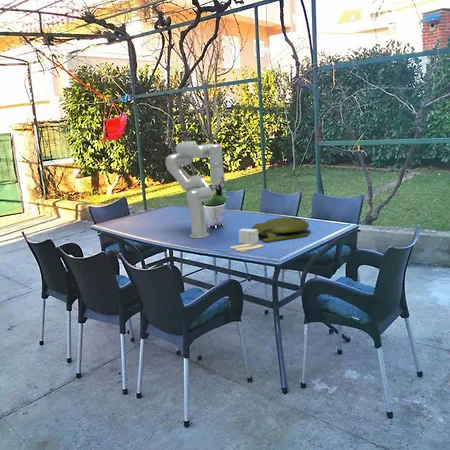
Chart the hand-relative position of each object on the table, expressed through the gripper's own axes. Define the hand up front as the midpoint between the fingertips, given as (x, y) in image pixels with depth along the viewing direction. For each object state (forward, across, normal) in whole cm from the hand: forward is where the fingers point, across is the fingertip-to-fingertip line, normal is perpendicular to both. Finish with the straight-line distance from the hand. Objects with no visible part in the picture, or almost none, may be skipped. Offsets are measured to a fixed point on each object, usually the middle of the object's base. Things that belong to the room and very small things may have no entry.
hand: (219, 195), depth 287 cm
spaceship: (+30, +11, +37) cm, 49 cm away
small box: (+24, +10, +6) cm, 27 cm away
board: (+29, +21, +4) cm, 36 cm away
